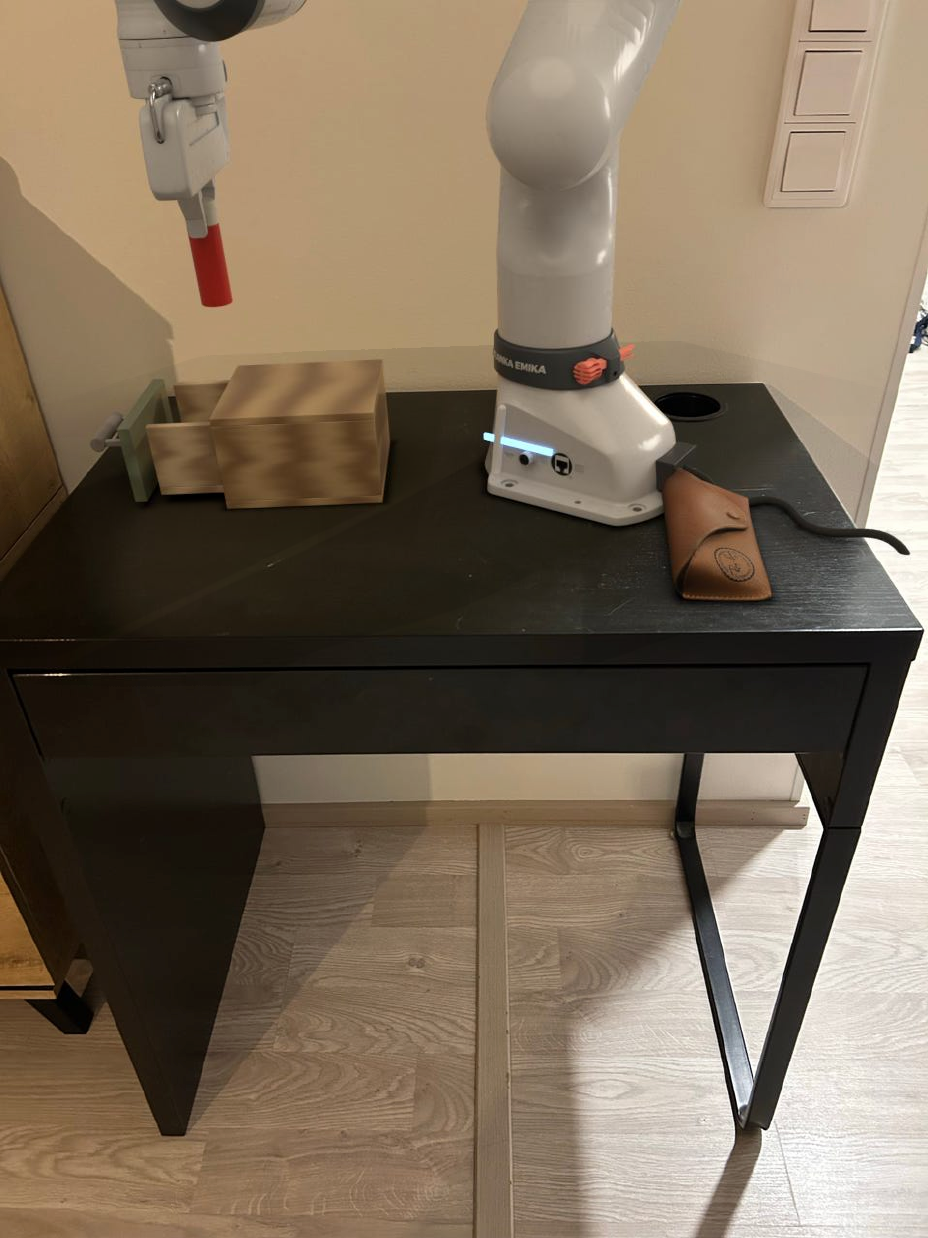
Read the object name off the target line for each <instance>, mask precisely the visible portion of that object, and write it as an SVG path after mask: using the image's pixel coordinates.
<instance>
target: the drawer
mask: <svg viewBox="0 0 928 1238" xmlns="http://www.w3.org/2000/svg"><path fill="white" fill-rule="evenodd" d="M229 381H230V379H224V380H223V379H222V380H201V381H177V382H174V383H173V385H172V387H173V391H174V396H175V400H176V405H177V410H178V414H179V418H180V422H174V419H173V418H174V417H173V415H172V409H171V405H170V401H169V395H168V392H167V387H166V383H165V379H164V378H152V380H151V381H150V382H149V384H148V385H147V387H146V388H145V390H143V392H142V393H141V395H140V396H139V397H138V399H137V401H136V402H135V403H134V405H133V406H132V407H131V409H130V410H129V411H128V413H127V414H126V415H123V413H121V412H119V411H113V412H111V413H110V414H109V416H108V417H107V419H106V420H105V421H104V422H103V423H102V425H101V426H100V427H99V429H98V430H97V432H95V434H94V435H93V436H92V438H91V439H90V441H89V446H90V448H91V450H92V451H94V452H97V453H101V452H103V451H105V449H106V448H112V447H114V448H115V447H121V451H122V456H123V459H124V463H125V466H126V471H127V475H128V478H129V483H130V486H131V490H132V493H133V497H134V500H135V503H139V502H141V503H143V502H148V501H149V499H150V497H152V494H153V493H154V490H155V488H156V487H157V485H158V486H159V490H160V494H161V496H164V495H165V496H167V495H169V496H170V495H189V494H190V495H191V494H213V493H214V494H217V493H224V490H223V485H222V480H221V475H220V470H219V465H218V460H217V456H216V451H215V446H214V441H213V436H212V431H211V426H210V421H209V418H210V417H211V415H212V413H213V411H214V409H215V407H216V405H217V403H218V402H219V400H220V398H221V396H222V394H223V392H224V390H225V389H226V387H227V385H228V383H229ZM116 434H117V436H118V438H114V437H115V436H116Z"/></svg>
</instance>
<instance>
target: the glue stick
mask: <svg viewBox="0 0 928 1238" xmlns="http://www.w3.org/2000/svg"><path fill="white" fill-rule="evenodd" d="M202 205H203V209H204V213H205V215H207V219H208V226H209V230H210V231H209V233H208V234H207V236H206V237H204V238H191V237H190V236H189V234H188V229H187V224H186V219H185V218H184V222H185V226H186V231H187V237H188V241H189V247H190V252H191V257H192V262H193V267H194V272H195V277H196V283H197V287H198V293H199V299H200V304H201V306H202V307H205V308H219V307H225V306H228V305H230V304H232V303H233V301H234V300H233V293H232V288H231V283H230V277H229V271H228V267H227V266H228V265H227V260H226V255H225V249H224V244H223V237H222V232H221V226H220V222H219V215H217V214H218V210H217V203H216V204H215V199H214V198H210V197H202Z"/></svg>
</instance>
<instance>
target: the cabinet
mask: <svg viewBox="0 0 928 1238" xmlns="http://www.w3.org/2000/svg"><path fill="white" fill-rule="evenodd" d="M384 369H385V368H384V361H383V359H381V358H379V359H361V360H360V359H358V360H336V361H335V360H334V361H333V360H332V361H312V362H311V361H310V362H290V363H289V362H288V363H287V362H286V363H265V364H263V363H262V364H241V365H237V366H236V368H235V370H234V372H233V373H232V376H231V377H230V379H229V380H230V381H229V383H228V385H227V387H226V389H225V390H224V392H223V394H222V396H221V398H220V400H219V402H218V403H217V405H216V407H215V409H214V411H213V413H212V415H211V417H210V418H209V421H210V426H211V431H212V436H213V441H214V446H215V451H216V456H217V460H218V465H219V470H220V475H221V480H222V485H223V490H224V492H223V494H224V499H225V505H226V509H227V510H234V509H236V510H237V509H254V508H255V509H258V508H259V509H260V508H283V507H305V506H307V507H309V506H310V507H311V506H332V505H357V504H358V505H359V504H379V503H380V504H381V503H383V501H384V499H383V498H384V493H385V492H384V491H385V485H386V484H385V483H386V477H387V476H386V475H387V468H388V463H389V461H388V460H389V454H390V447H391V446H390V445H391V437H390V435H391V434H390V427H389V425H390V424H389V415H388V414H389V413H388V405H387V404H388V403H387V394H386V393H387V391H386V381H385V371H384Z"/></svg>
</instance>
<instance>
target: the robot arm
mask: <svg viewBox="0 0 928 1238" xmlns="http://www.w3.org/2000/svg"><path fill="white" fill-rule="evenodd" d="M113 1H114V4H115V9H116V15H117V16H116V17H117V25H116V36H117V40H118V45H119V50H120V55H121V59H122V64H123V70H124V73H125V78H126V83H127V87H128V93H129V96H130V98H132V99H135V100H144V101H145V104H144V105H142V107H140V110H139V114H138V122H139V123H138V124H139V132H140V133H139V134H140V140H141V146H142V151H143V152H142V153H143V157H144V163H145V170H146V175H147V180H148V185H149V188H150V191H151V193H152V195H153V197H154V200H156V201H160V202H165V201H167V202H171V201H177V204H178V207H179V209H180V211H181V213H182V216H183V219H184V220H185V219H186V222H185V225H186V224H187V225H186V226H187V227H186V230H187V229H188V232H187V235H188V234H189V236H190V237H191V238H204V237H206V236H207V234H208V233H209V231H210V230H209V226H208V219H207V215H205V213H204V209H203V205H202V197H210V198H214V199H215V204H216V205H217V183H216V175H218V174H219V173H220V172H221V171H222V170H223V169H224V168H225V167H226V166H227V165H228V164H229V163H230V159H231V157H230V155H231V142H230V129H229V119H228V110H227V100H226V94H225V92H226V91H227V89H228V87H227V85H228V83H229V76H228V71H227V70H228V68H227V64H226V62H225V60H224V59H223V56H222V50H221V45H220V42H223V41H226V40H230V39H232V38H233V37H235V36H237V35H240V34H242V33H244V32H249V31H253V30H258V29H263V28H266V27H269V26H274V25H277V24H280V23H282V22H284V21H286V20H288V19H289V18H291V17H293V16H294V15H295V14H296V13H298V12H299V11H300V10H301V9H302V8H303V6H304V5H305V3H306V2H307V0H113ZM683 1H684V0H528V2H527V5H526V6H525V9H524V10H523V14H522V16H521V17H520V21H519V22H518V25H517V26H516V29H515V32H514V33H513V36H512V38H511V40H510V42H509V45H508V48H507V50H506V52H505V55H504V57H503V59H502V61H501V63H500V66H499V68H498V71H497V73H496V75H495V78H494V80H493V81H492V84H491V87H490V90H489V93H488V97H487V103H486V107H485V128H486V134H487V138H488V139H487V140H488V143H489V145H490V148H491V150H492V153H493V155H494V157H495V159H496V160H497V162H498V163H499V167H500V168H499V189H498V192H499V193H498V214H497V215H498V216H497V217H498V218H497V233H496V234H497V235H496V246H495V247H496V248H495V254H496V255H495V256H496V257H495V258H496V299H497V300H496V301H497V302H496V303H497V307H496V308H497V309H496V310H497V328H496V329H495V330H494V333H493V348H492V356H493V369H494V371H495V373H497V386H496V397H495V408H494V416H493V423H492V431H491V433H489V432H484V433H483V440H486V441H489V446H488V450H487V453H486V456H485V460H484V467H485V471H486V473H487V474H488V478H487V487H486V489H487V492H488V493H489V494H491V495H493V496H498V497H500V498H501V497H502V498H505V499H509V500H513V501H517V502H521V503H524V504H528V505H532V506H536V507H540V508H542V509H544V508H545V509H547V510H551V511H555V512H559V513H563V514H567V515H570V516H575V517H578V518H582V519H586V520H589V521H593V522H597V523H600V524H605V525H609V526H614V527H623V526H629V525H633V524H634V525H635V524H638V523H642V522H645V521H649V520H651V519H654V518H656V517H658V516H660V515H662V514H664V507H663V501H662V492H661V490H662V486H663V484H664V482H665V481H666V480H667V479H668V478H669V477H670V476H672V475H673V474H674V472H675V470H676V469H677V468H681V469H683V470H685V471H687V472H689V473H691V474H693V475H694V476H696V477H697V478H699V479H700V480H702V481H705V482H707V483H710V484H712V485H715V486H717V484H716V482H715V480H714V479H712V478H711V476H709V475H708V474H706V473H705V472H703V471H701V470H699V469H698V468H695V464H696V453H697V445H696V444H694V443H689V442H684V441H680V440H679V441H677V440H676V432H675V428H674V425H673V423H672V421H671V420H670V419H669V418H668V417H667V415H665V414H664V413H663V412H662V411H661V410H660V408H658V407H657V405H656V404H654V403H653V401H652V400H651V399H650V398H649V397H648V396H647V395H646V394H645V393H644V392H643V391H642V389H641V388H640V387H639V386H638V385H637V384H636V382H634V380H633V379H632V378H631V377H630V376H629V375H628V374H627V373H626V372H625V370H626V365H625V362H624V360H626V359H628V358H631V357H633V356H635V353H633V352H632V353H631V351H632V350H633V349H634V348H635V345H634V344H633V343H632V344H629V345H627V346H625V347H623V348H621V347H620V344H619V340H618V337H617V333H616V331H615V329H614V327H613V326H612V321H613V300H614V279H615V259H616V236H617V235H616V233H617V213H618V212H617V209H618V193H619V192H618V190H619V189H618V188H619V167H620V165H619V164H620V148H621V147H620V146H621V145H620V144H621V134H622V132H623V130H624V128H625V126H626V124H627V122H628V119H629V117H630V115H631V113H632V111H633V109H634V107H635V105H636V104H637V101H638V98H639V97H640V94H641V92H642V89H643V88H644V86H645V84H646V81H647V80H648V77H649V75H650V73H651V71H652V69H653V67H654V64H655V62H656V60H657V58H658V56H659V54H660V52H661V50H662V47H663V45H664V43H665V41H666V38H667V36H668V34H669V32H670V29H671V28H672V25H673V23H674V21H675V19H676V16H677V14H678V12H679V10H680V8H681V5H682V3H683ZM217 215H218V213H217ZM218 216H219V215H218ZM747 498H748V502H749V507H753V506H754V507H755V506H760V505H761V506H762V505H763V506H764V505H768V506H769V505H770V506H774V507H776V508H779V509H782V510H784V511H785V512H786V513H787V514H788V515H789V516H790V517H791V518H792V520H793V521H794V522H795V523H796V524H797V525H798V526H799V527H801V529H802V528H803V529H804V530H805V531H807V532H809V533H812V534H814V535H817V536H821V537H827V538H837V539H838V538H841V539H843V538H847V539H848V538H864V539H865V538H866V539H873V540H877V541H881V542H883V543H885V544H888V545H889V546H890V547H892V548H893V549H894V550H895V551H896V552H897V553H898V554H899V555H903V556H910V555H911V552H910V550H909V549H908V547H907V546H906V545H905V544H904V542H902V541H901V540H900V539H899V538H897V537H896V536H895V535H892V534H890V533H889V532H886V531H883V530H880V529H874V528H863V527H862V528H858V527H857V528H835V527H826V526H821V525H819V524H818V525H817V524H815V523H813V522H811V521H809V520H807V519H806V518H805V517H804V516H803V514H802V513H801V512H800V511H799V510H798V509H797V508H796V507H795V506H794V505H793V504H792V503H790V502H788V501H787V500H785V499H782V498H780V497H778V496H777V497H776V496H770V495H760V496H753V497H747Z"/></svg>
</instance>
